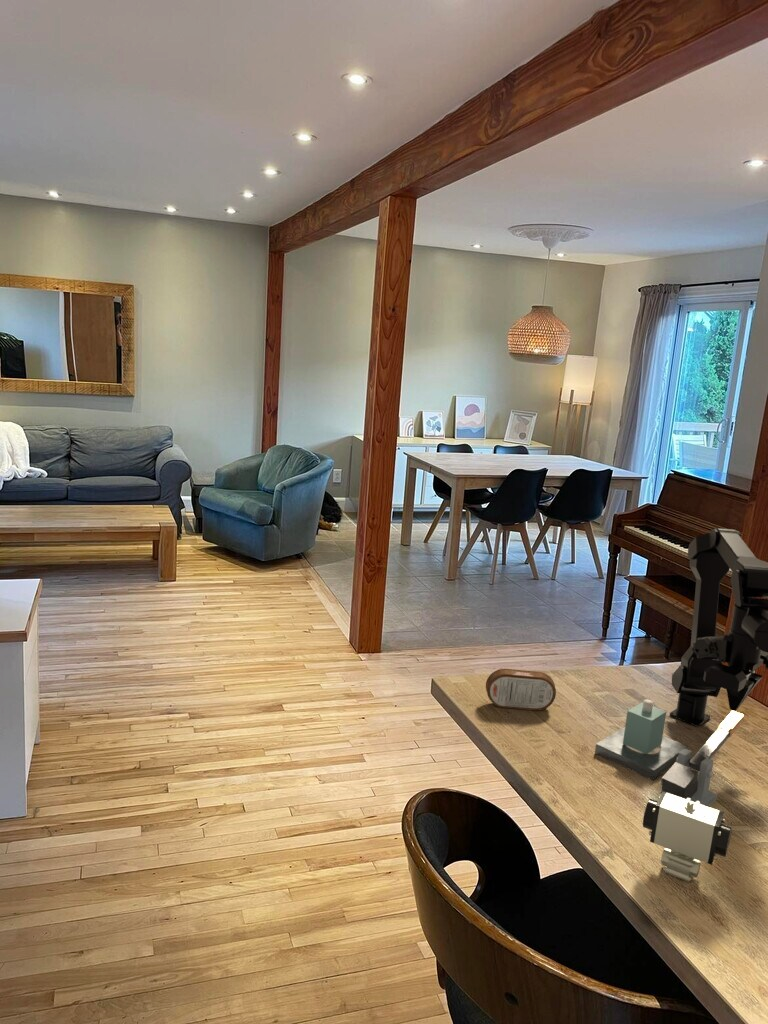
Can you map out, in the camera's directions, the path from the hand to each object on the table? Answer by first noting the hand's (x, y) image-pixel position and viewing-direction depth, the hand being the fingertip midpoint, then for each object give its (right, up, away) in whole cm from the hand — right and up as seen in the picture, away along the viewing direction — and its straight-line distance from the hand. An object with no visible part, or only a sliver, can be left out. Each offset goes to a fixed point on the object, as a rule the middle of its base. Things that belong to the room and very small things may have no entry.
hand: (733, 709), depth 144 cm
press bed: (-15, -10, +6) cm, 20 cm away
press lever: (-7, -8, -5) cm, 12 cm away
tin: (-36, -6, +23) cm, 43 cm away
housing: (-15, -8, +6) cm, 18 cm away
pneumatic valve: (-21, -18, -27) cm, 39 cm away
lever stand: (-11, -14, -7) cm, 19 cm away
